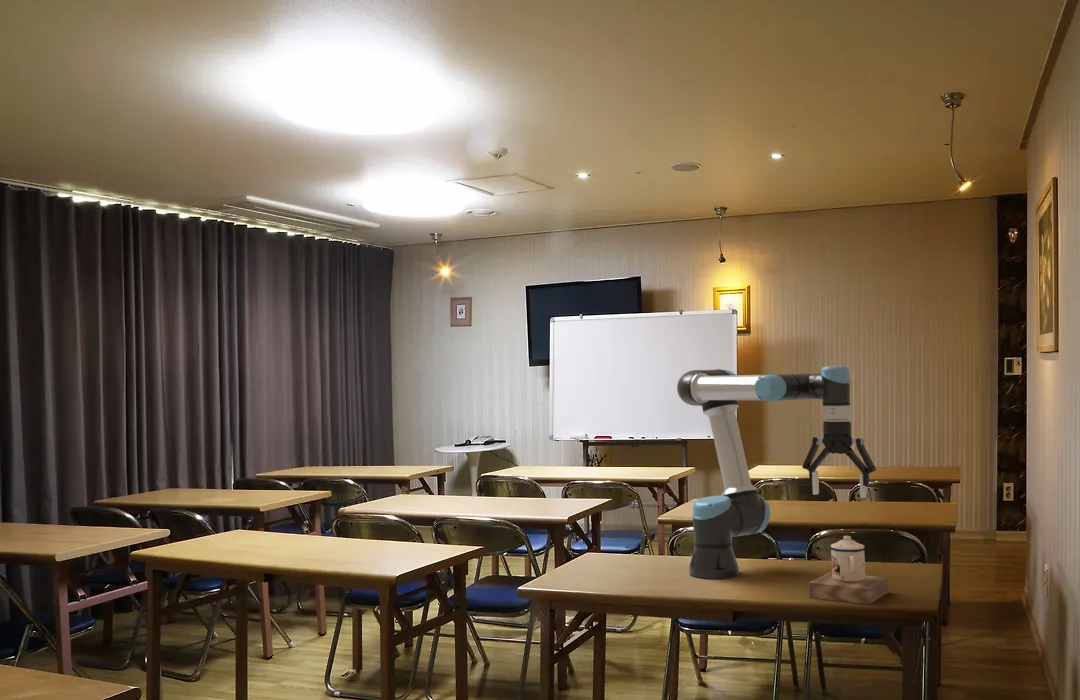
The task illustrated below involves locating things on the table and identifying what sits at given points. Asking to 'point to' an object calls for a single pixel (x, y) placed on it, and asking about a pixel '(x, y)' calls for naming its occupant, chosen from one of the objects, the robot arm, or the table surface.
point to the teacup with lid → (848, 560)
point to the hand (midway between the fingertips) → (839, 495)
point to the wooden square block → (849, 589)
